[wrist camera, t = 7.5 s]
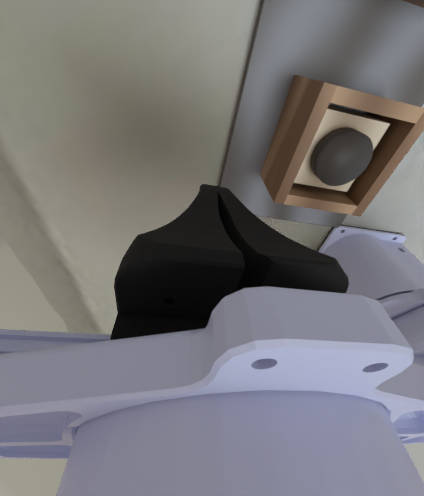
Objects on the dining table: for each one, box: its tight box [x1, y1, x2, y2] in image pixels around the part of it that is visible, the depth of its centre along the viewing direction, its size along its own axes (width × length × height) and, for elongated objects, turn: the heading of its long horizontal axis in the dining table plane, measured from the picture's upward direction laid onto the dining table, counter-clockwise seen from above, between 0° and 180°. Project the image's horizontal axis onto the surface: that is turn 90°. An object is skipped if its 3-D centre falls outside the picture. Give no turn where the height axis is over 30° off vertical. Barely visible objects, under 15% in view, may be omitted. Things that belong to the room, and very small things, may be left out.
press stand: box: [219, 0, 424, 228], centre depth 13 cm, size 14×28×6 cm, turn 169°
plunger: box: [294, 105, 390, 192], centre depth 17 cm, size 5×5×5 cm
